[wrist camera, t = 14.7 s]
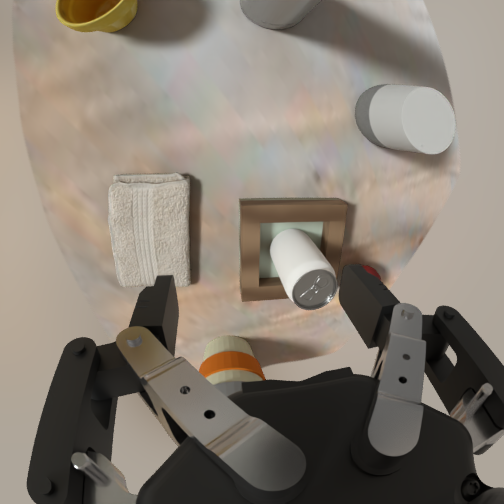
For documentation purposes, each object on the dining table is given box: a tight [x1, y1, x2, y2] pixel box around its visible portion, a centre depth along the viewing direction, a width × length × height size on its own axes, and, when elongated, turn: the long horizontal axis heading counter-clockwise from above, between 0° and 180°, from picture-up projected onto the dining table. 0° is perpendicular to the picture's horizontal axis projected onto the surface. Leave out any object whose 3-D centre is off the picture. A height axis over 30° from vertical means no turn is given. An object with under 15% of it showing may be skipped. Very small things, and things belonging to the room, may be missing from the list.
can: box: [270, 229, 338, 310], centre depth 38 cm, size 6×6×12 cm
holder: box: [239, 198, 348, 302], centre depth 42 cm, size 15×15×4 cm
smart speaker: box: [355, 84, 456, 154], centre depth 30 cm, size 10×9×14 cm
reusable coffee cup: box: [199, 336, 266, 397], centre depth 46 cm, size 13×13×15 cm
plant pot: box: [56, 0, 137, 32], centre depth 21 cm, size 10×10×10 cm
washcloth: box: [108, 172, 191, 287], centre depth 39 cm, size 12×18×3 cm, turn 177°
